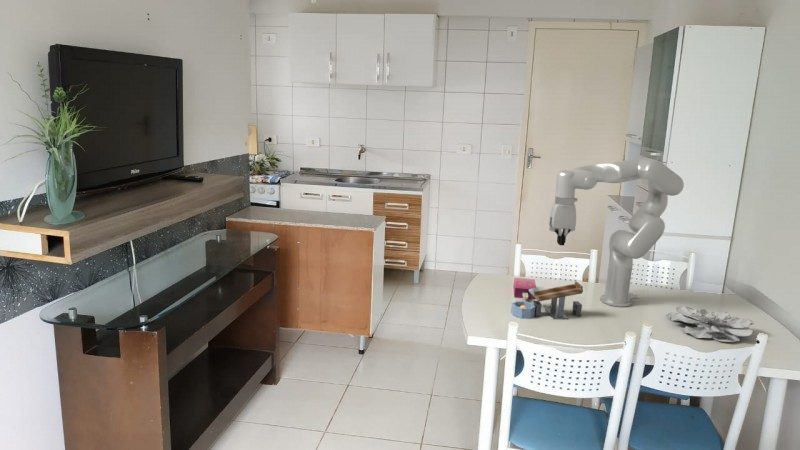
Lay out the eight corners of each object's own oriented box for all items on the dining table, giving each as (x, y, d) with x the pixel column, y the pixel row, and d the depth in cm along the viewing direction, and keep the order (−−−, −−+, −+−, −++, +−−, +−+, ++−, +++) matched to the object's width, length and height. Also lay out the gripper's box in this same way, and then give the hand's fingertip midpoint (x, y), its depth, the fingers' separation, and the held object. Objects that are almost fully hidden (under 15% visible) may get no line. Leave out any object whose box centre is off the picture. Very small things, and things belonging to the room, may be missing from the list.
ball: (523, 302, 232) (516, 306, 232) (526, 305, 229) (519, 309, 229) (527, 308, 232) (520, 313, 233) (529, 311, 229) (522, 316, 229)
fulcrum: (573, 310, 238) (576, 289, 236) (583, 319, 229) (586, 297, 227) (530, 309, 236) (532, 288, 234) (538, 319, 227) (540, 297, 225)
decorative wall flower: (705, 296, 244) (775, 322, 217) (703, 312, 245) (772, 339, 218) (652, 303, 232) (719, 332, 205) (650, 320, 233) (715, 350, 206)
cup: (529, 310, 236) (530, 301, 235) (536, 318, 227) (537, 308, 226) (509, 310, 235) (509, 300, 234) (515, 318, 226) (516, 308, 225)
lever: (570, 283, 241) (570, 276, 240) (583, 294, 228) (582, 286, 227) (528, 291, 240) (528, 283, 239) (539, 302, 227) (538, 294, 226)
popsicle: (515, 291, 244) (514, 277, 263) (514, 302, 245) (513, 287, 264) (537, 293, 243) (534, 279, 262) (536, 304, 244) (533, 289, 263)
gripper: (578, 199, 239) (574, 242, 244) (543, 199, 238) (540, 242, 242) (585, 202, 232) (582, 246, 236) (550, 203, 230) (546, 247, 235)
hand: (560, 244), depth 239 cm, fingers closed
